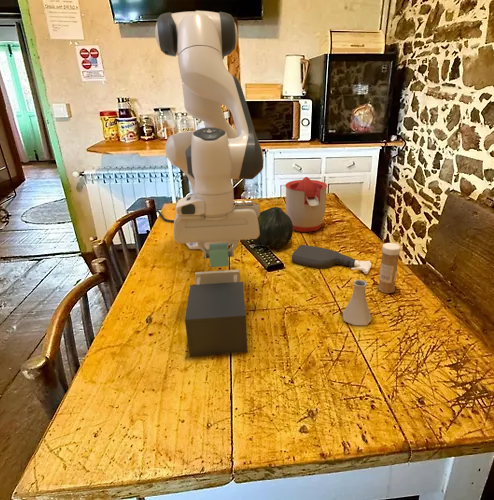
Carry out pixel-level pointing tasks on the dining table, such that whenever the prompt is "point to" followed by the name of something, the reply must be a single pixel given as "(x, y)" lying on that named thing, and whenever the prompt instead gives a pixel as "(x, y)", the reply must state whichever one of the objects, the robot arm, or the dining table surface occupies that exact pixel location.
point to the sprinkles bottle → (389, 267)
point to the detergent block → (219, 254)
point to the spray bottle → (326, 258)
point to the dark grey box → (216, 319)
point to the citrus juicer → (306, 204)
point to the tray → (217, 277)
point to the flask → (357, 306)
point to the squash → (274, 228)
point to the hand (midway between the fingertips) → (219, 256)
